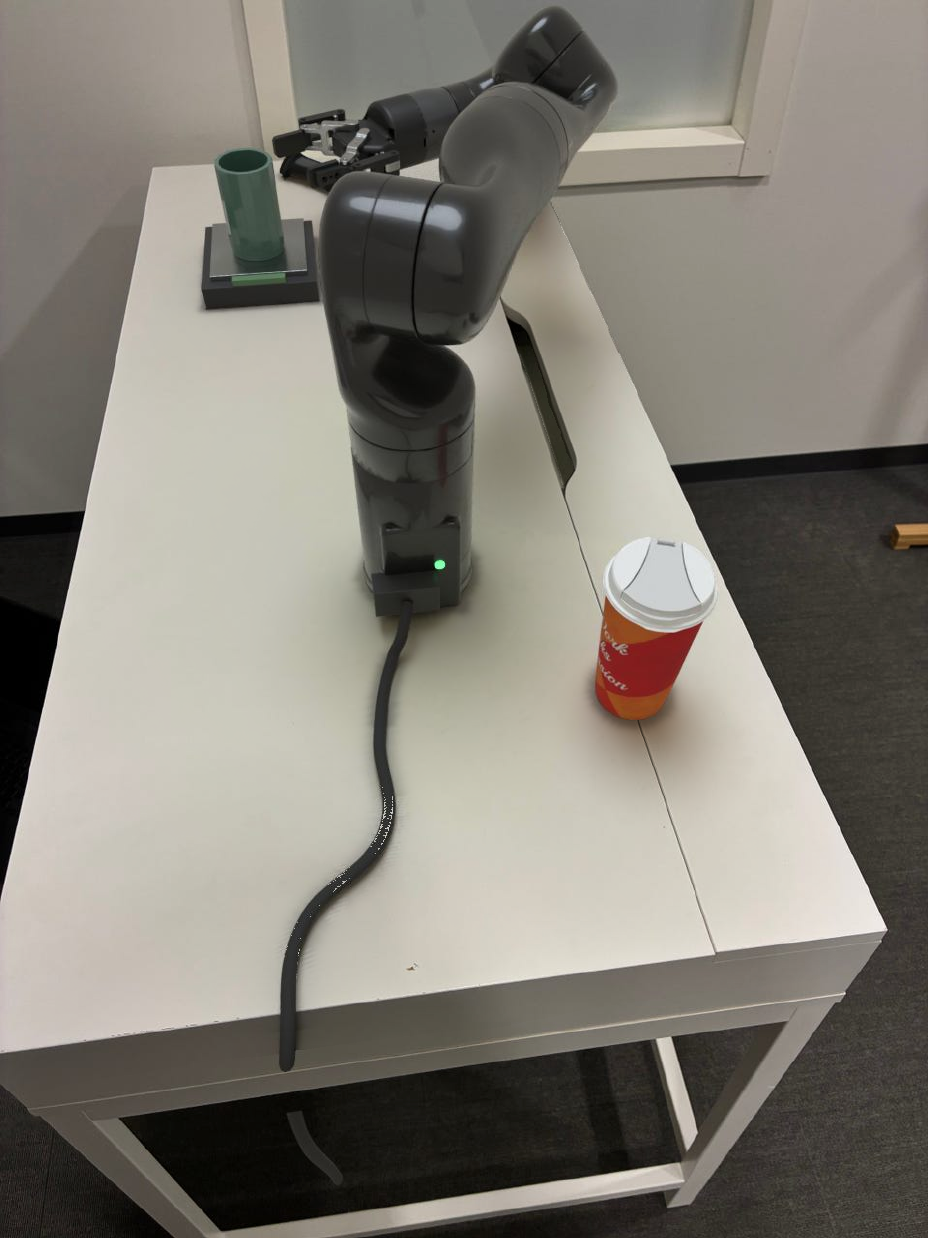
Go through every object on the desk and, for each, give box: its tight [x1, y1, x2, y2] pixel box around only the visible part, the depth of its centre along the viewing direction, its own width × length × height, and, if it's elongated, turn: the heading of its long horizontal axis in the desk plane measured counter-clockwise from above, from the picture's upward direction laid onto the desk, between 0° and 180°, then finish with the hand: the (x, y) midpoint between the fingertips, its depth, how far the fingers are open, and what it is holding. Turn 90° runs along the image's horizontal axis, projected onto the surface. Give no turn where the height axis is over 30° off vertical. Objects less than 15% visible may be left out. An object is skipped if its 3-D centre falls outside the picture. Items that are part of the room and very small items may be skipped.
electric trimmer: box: [279, 152, 335, 193], centre depth 118 cm, size 4×16×3 cm, turn 55°
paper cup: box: [594, 536, 719, 721], centre depth 64 cm, size 8×8×14 cm
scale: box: [200, 217, 321, 310], centre depth 105 cm, size 14×13×3 cm
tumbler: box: [213, 147, 285, 262], centre depth 100 cm, size 6×6×10 cm
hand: (291, 162), depth 99 cm, fingers open, 8 cm apart
